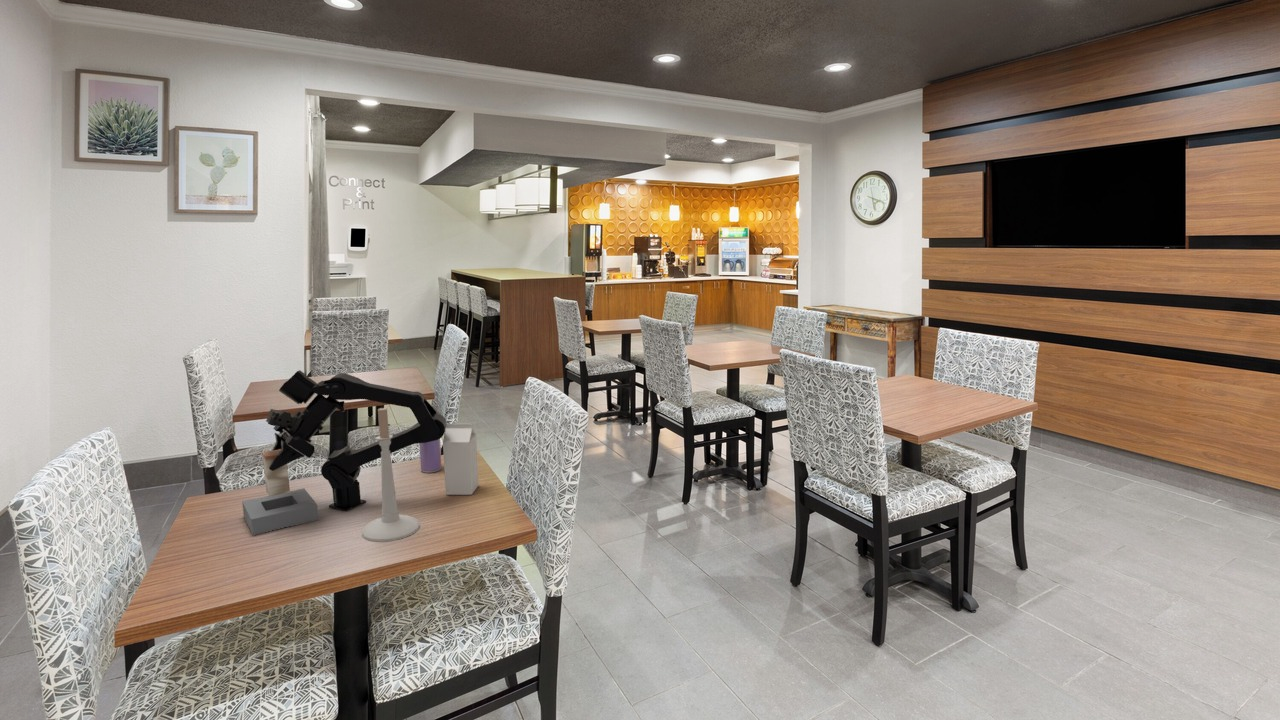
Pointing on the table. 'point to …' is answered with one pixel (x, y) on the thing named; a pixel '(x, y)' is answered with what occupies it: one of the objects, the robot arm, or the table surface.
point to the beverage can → (430, 456)
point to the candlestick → (388, 496)
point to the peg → (275, 475)
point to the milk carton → (460, 459)
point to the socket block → (279, 511)
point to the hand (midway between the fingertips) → (269, 467)
